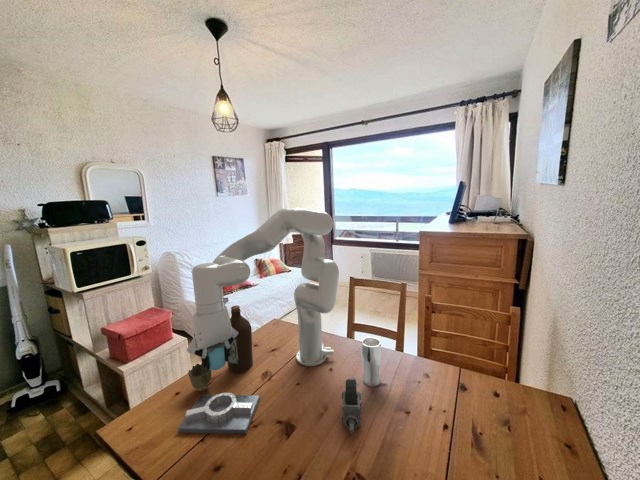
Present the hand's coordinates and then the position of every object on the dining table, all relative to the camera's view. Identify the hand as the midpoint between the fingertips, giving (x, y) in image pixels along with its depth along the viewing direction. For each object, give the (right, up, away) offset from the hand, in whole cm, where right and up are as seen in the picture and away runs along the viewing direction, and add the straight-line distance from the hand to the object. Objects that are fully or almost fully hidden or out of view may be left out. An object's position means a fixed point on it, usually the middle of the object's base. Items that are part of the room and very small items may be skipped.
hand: (216, 363), depth 78 cm
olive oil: (-1, -14, +27) cm, 30 cm away
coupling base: (+1, -17, +3) cm, 17 cm away
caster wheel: (+41, -16, 0) cm, 44 cm away
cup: (-11, -16, +14) cm, 24 cm away
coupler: (0, -1, 0) cm, 1 cm away
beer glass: (+50, -14, +15) cm, 53 cm away
